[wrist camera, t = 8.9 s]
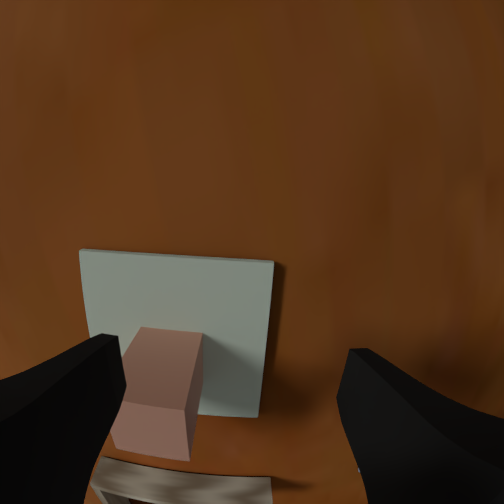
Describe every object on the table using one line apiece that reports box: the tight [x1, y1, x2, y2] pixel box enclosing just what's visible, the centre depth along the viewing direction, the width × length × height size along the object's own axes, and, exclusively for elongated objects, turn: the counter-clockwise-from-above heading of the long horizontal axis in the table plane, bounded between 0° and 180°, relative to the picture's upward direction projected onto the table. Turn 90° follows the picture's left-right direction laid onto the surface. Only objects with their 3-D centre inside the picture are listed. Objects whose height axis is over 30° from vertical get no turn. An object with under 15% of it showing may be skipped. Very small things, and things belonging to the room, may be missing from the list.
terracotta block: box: [110, 327, 203, 461], centre depth 15 cm, size 4×4×7 cm
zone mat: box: [79, 249, 274, 417], centre depth 19 cm, size 12×12×1 cm
